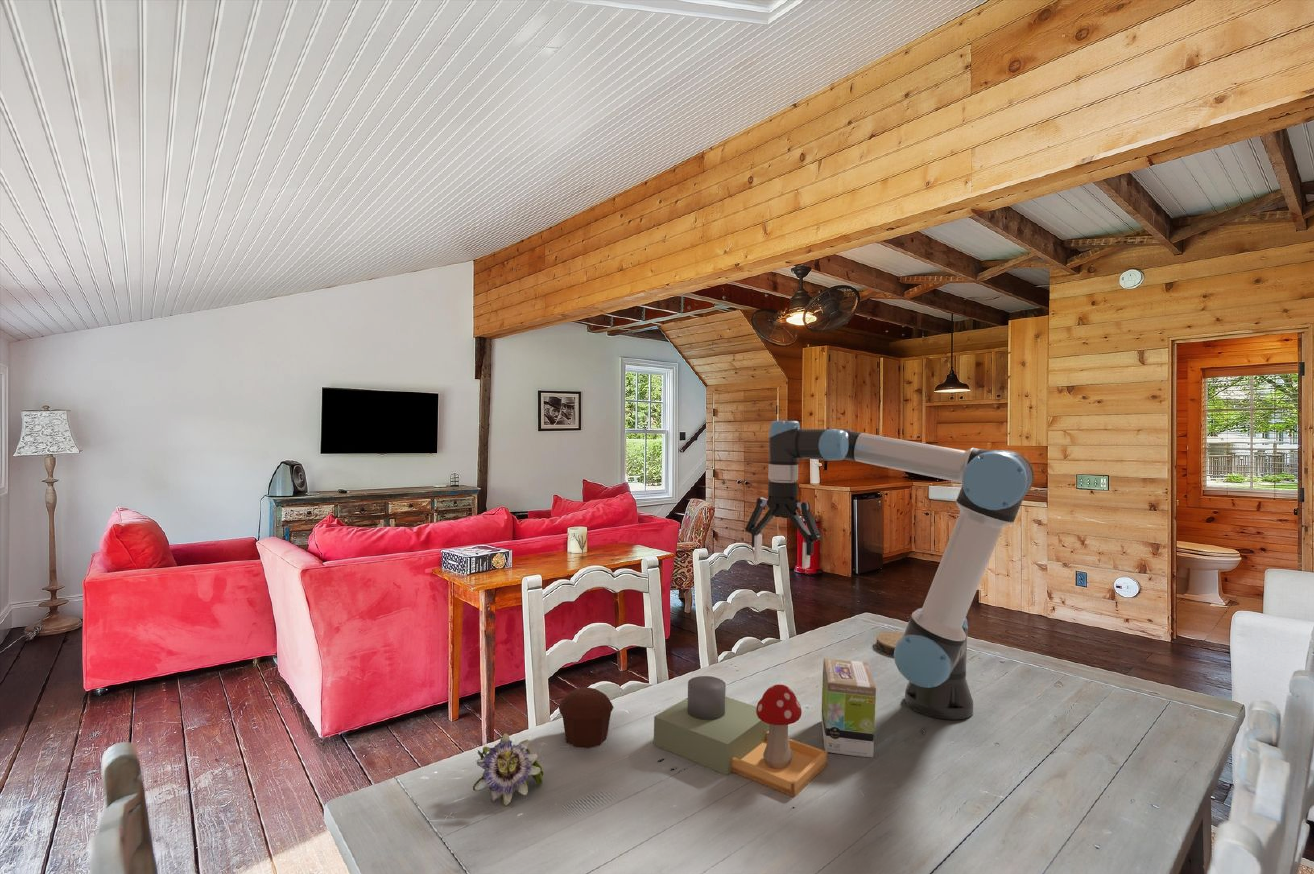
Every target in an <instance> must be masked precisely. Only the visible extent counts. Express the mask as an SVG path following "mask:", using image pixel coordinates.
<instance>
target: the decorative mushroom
mask: <svg viewBox="0 0 1314 874" xmlns="http://www.w3.org/2000/svg"><path fill="white" fill-rule="evenodd" d="M756 707H757V708H756V713H757V716H758V718H759V719H760V720H761V721H763V722H765V723H768V724H769V735H768V741H767V745H766V748H765V751H764V753H763V757H764V760H765V763H766V765H767V766H768V767H770V768H773V769H782V768H785V767H787V766H788V765H789V764H790V762H791V759H792V751H791V748H790V744H789V725H792V724H795V723H796V722H798V721H800V719H801V716H802V707H801V703H800V701H798V699H797V696H796V694H795V692H794V691H793V690H792V688H790V687H789V686H787V685H785V684H780V683H779V684H774V685H771V686H769V688H767V689H766V691H765V692H764V693H763V694H762V697H761V699H760V700H758V702H757V705H756Z"/></svg>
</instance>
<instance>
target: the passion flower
mask: <svg viewBox="0 0 1314 874" xmlns="http://www.w3.org/2000/svg"><path fill="white" fill-rule="evenodd" d="M512 743H513V740H511V739H510V736H509V734H508V733H506V732H504V734H503V735H502V736H501V738H500V740H499V742H498V743H497V744H494V745H495V746H494V747H488V746H485V745H484V746H483V747H482V752H481V750H477V754H478V755H479V756H480V759H478V761H476V765H477V766H479V767H480V768H481V769H483V770H484V771H483V772H482V776H481V777H479V779H478V780H477V781H476V782H475V783H474V784H473V786H472V791H481V790H483V789H485V788H489V791H490V792H489V793H490V794H489V795H490V800H491V802H495V801H496V800H498V799H501V800H502V804H503V805H504V806H505V807H507V806H509V804H510V803H511V801H512V798H513V794H514V793H515V792H518V793H519V794H520V795H522V796H527V794H528V790H529V786H528V782H529V777H532V778H533V780H534V781H535V782H536V783H537V784H536V785H537V786H539V787H540V786H541V785H542V783H543V778H544V777H543V776H544V770H543V768H542V766H541V765H540V763H539V761H537V759H538V754H537V753H531V750H530V749H529V748H528V747H529V745H530V739H528V738H526V739H525V740H522V741H520V742H519V743H518V744H513V745H512Z"/></svg>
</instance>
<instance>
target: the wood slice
mask: <svg viewBox="0 0 1314 874" xmlns="http://www.w3.org/2000/svg"><path fill="white" fill-rule="evenodd" d="M904 633H905V631H903V632H901V631H885V632H881V633H878V634H877V635H876V644H875V645H876V648H877V649H878V651H880V652H882V653H884V654H886V655H889V656H893V657H894V650H895V647H896V644H897V642H898V641H899V640H900V639H901V638H902V637H903V635H904Z"/></svg>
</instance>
